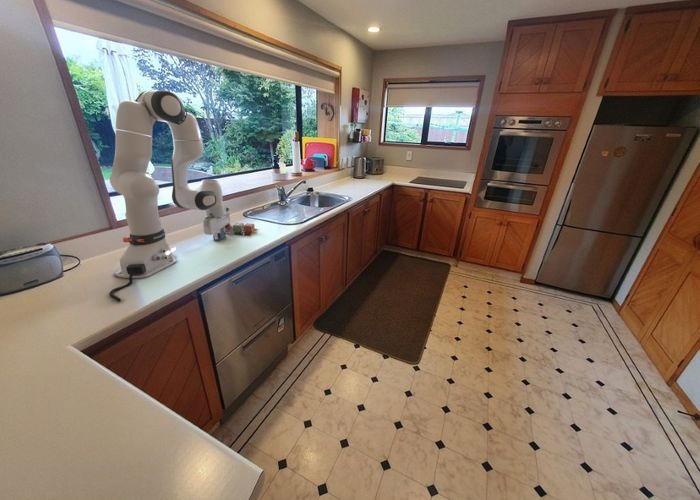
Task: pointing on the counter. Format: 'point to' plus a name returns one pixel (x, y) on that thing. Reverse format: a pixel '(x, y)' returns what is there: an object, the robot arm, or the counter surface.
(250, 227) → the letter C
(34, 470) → the counter surface
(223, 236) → the letter T
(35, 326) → the counter surface
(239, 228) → the letter A
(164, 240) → the robot arm
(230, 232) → the word board
